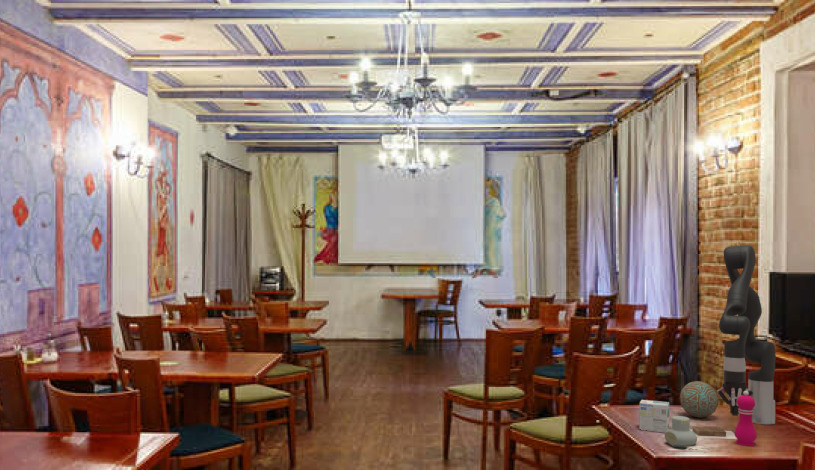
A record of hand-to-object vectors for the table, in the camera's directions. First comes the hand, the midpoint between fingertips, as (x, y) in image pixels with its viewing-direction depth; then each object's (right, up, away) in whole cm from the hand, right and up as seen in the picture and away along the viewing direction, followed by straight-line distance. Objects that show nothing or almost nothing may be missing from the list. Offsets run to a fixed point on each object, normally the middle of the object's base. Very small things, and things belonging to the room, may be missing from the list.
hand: (734, 415), depth 270 cm
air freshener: (-25, -8, -12) cm, 29 cm away
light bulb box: (-27, -8, +10) cm, 30 cm away
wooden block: (-4, -6, 0) cm, 8 cm away
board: (-10, -8, 0) cm, 13 cm away
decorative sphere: (0, -9, +33) cm, 34 cm away
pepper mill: (-2, -8, -13) cm, 15 cm away
